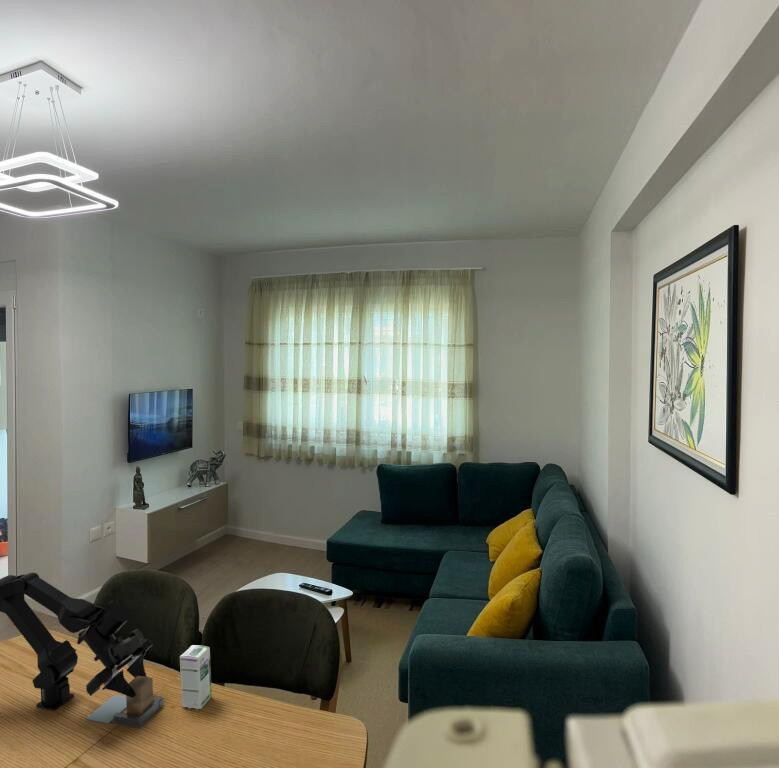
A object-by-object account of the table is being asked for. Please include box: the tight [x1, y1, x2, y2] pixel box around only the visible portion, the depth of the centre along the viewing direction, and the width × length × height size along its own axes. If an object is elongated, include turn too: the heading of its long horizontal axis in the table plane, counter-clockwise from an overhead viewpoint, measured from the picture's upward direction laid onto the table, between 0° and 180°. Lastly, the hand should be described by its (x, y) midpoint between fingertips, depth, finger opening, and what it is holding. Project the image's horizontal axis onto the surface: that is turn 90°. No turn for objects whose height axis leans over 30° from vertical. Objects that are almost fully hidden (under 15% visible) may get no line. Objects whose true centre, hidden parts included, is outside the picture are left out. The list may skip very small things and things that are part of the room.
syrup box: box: [179, 644, 213, 710], centre depth 146 cm, size 6×6×14 cm
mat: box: [85, 694, 127, 725], centre depth 144 cm, size 7×10×1 cm
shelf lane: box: [112, 696, 164, 729], centre depth 141 cm, size 8×9×2 cm
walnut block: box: [125, 676, 154, 716], centre depth 141 cm, size 4×4×9 cm
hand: (140, 690), depth 141 cm, fingers closed on walnut block, 4 cm apart
